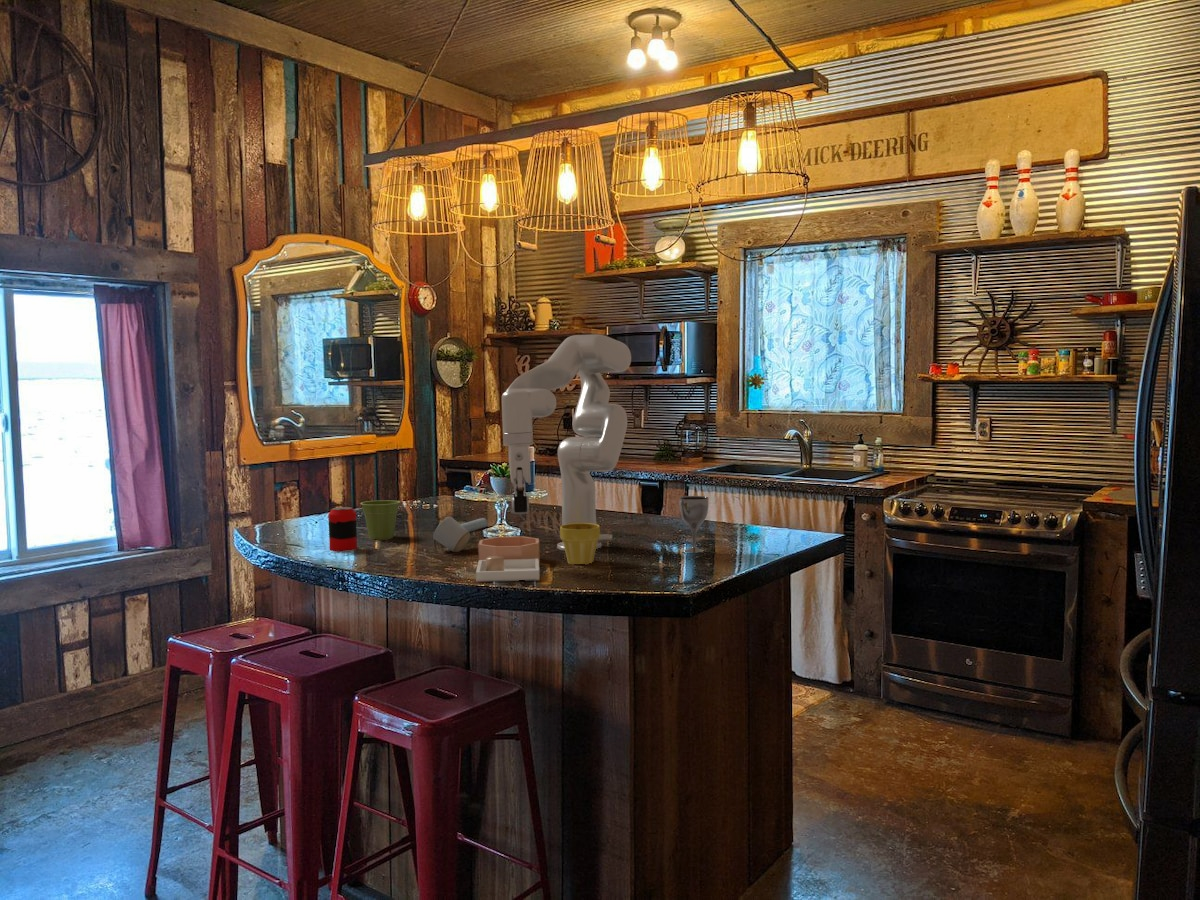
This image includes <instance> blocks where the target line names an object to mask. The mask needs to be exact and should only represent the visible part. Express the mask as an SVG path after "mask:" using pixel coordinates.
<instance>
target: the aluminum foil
mask: <svg viewBox="0 0 1200 900" xmlns="http://www.w3.org/2000/svg"><path fill="white" fill-rule="evenodd" d="M459 524H460V525H461V526H463V527H464V528H465V529H466V530H467V531H468V532H469V533H471V532H473V531H476V530H480V529H483V528H487V527H488V524H489V523H488V520H487V518H484V517H481V518H478V519H474V520H470V521H467V522H465V523H463V522H462V523H459Z"/></svg>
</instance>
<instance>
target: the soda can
mask: <svg viewBox="0 0 1200 900" xmlns="http://www.w3.org/2000/svg"><path fill="white" fill-rule="evenodd" d="M356 512H357V511H355V510H354V509H353V507H349V506H341V507H333V508H331V510H330V511H329V512H328V537H329V538H328V539H329V541H328V542H329V543H328V544H329V551H331V552H350V551H355V550H357V549H358V537H357V536H358V534H357V533H358V532H357V513H356Z"/></svg>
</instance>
